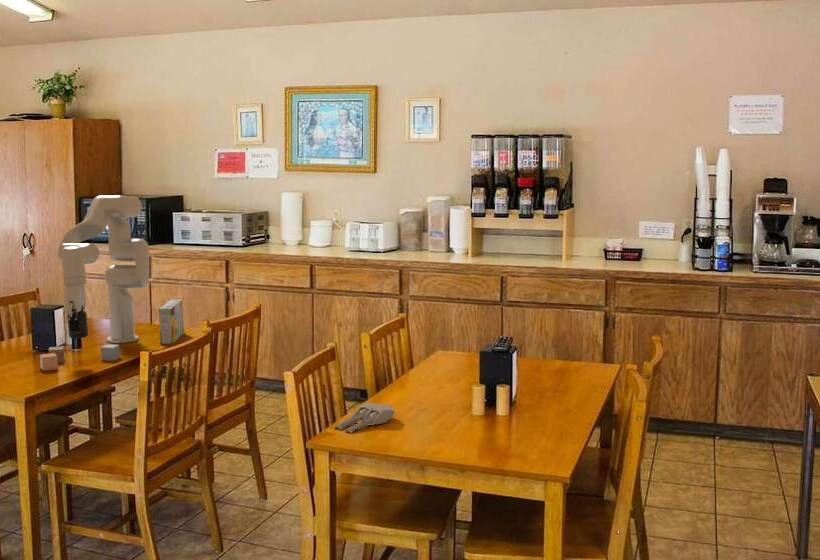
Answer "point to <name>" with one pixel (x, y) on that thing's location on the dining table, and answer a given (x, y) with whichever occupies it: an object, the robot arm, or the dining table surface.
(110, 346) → the slate block
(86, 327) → the supplement bottle
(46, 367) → the terracotta block
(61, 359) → the walnut block
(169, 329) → the snack box
